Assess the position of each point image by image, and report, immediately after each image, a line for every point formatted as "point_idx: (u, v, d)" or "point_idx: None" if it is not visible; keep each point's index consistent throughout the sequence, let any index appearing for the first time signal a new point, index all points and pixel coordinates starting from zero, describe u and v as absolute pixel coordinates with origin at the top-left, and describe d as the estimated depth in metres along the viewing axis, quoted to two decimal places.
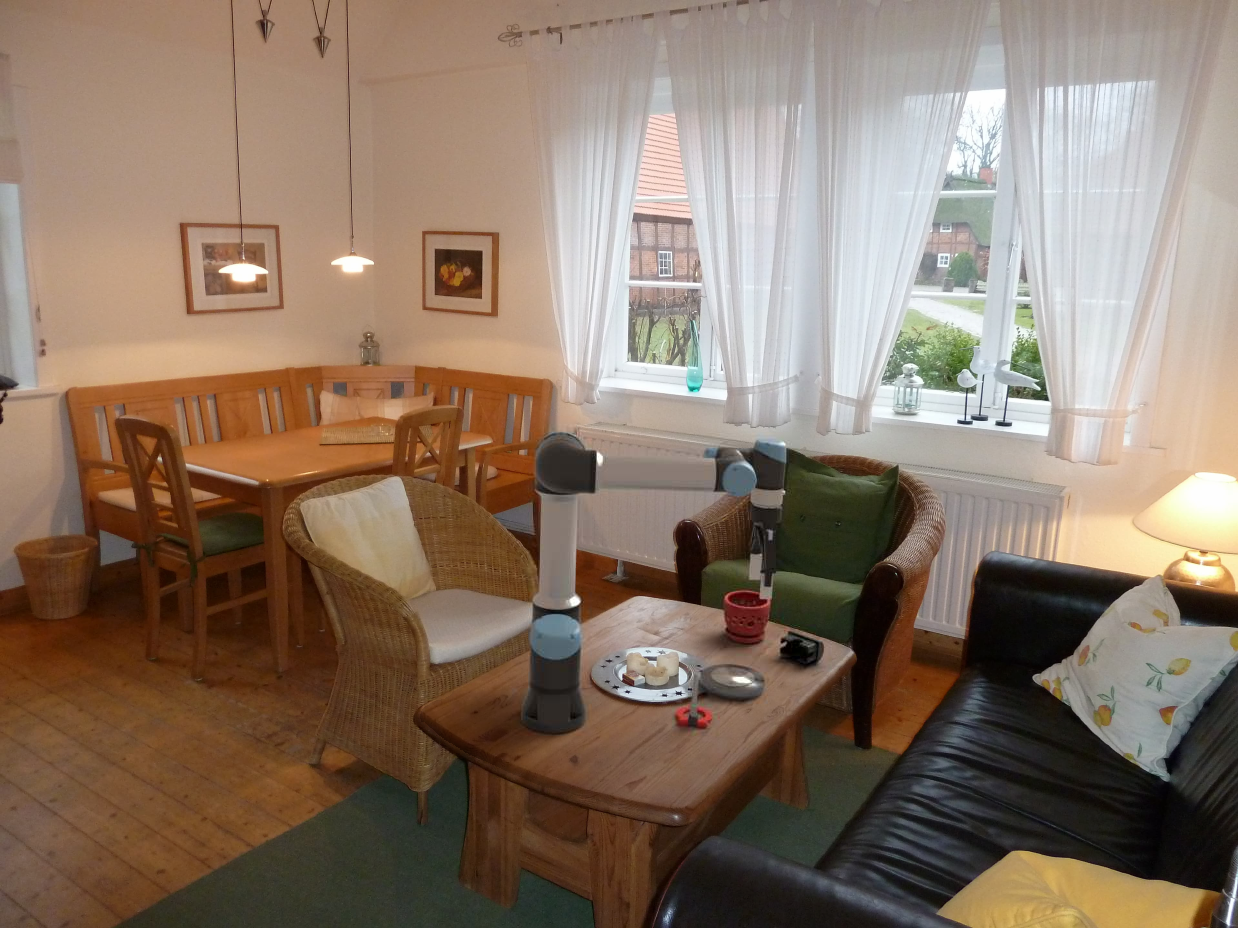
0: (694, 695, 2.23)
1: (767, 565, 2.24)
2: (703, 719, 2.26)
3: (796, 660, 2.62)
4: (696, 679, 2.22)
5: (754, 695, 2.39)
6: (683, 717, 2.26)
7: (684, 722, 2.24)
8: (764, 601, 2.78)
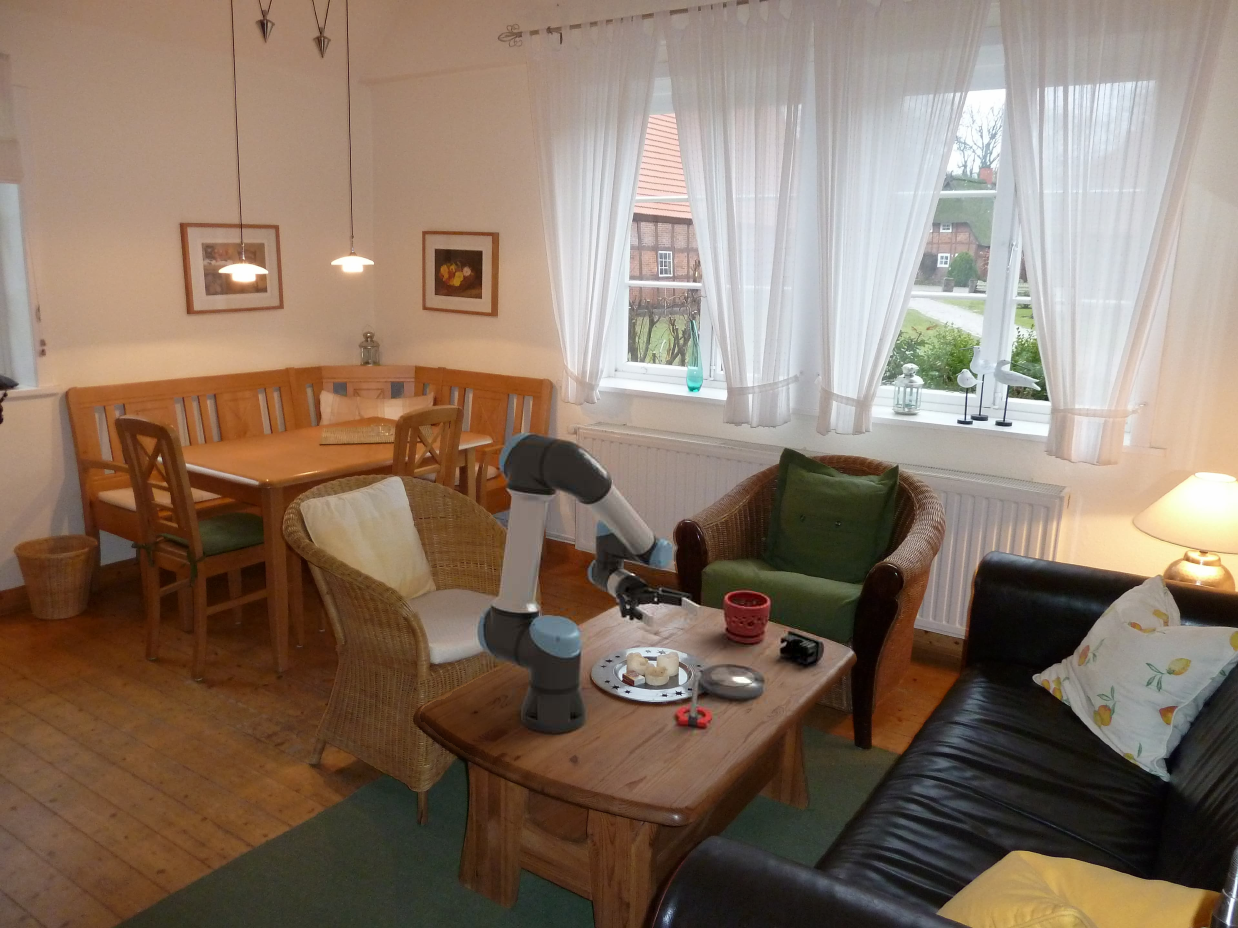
0: (694, 695, 2.23)
1: None
2: (703, 719, 2.26)
3: (796, 660, 2.62)
4: (696, 679, 2.22)
5: (754, 695, 2.39)
6: (683, 717, 2.26)
7: (684, 722, 2.24)
8: (764, 601, 2.78)
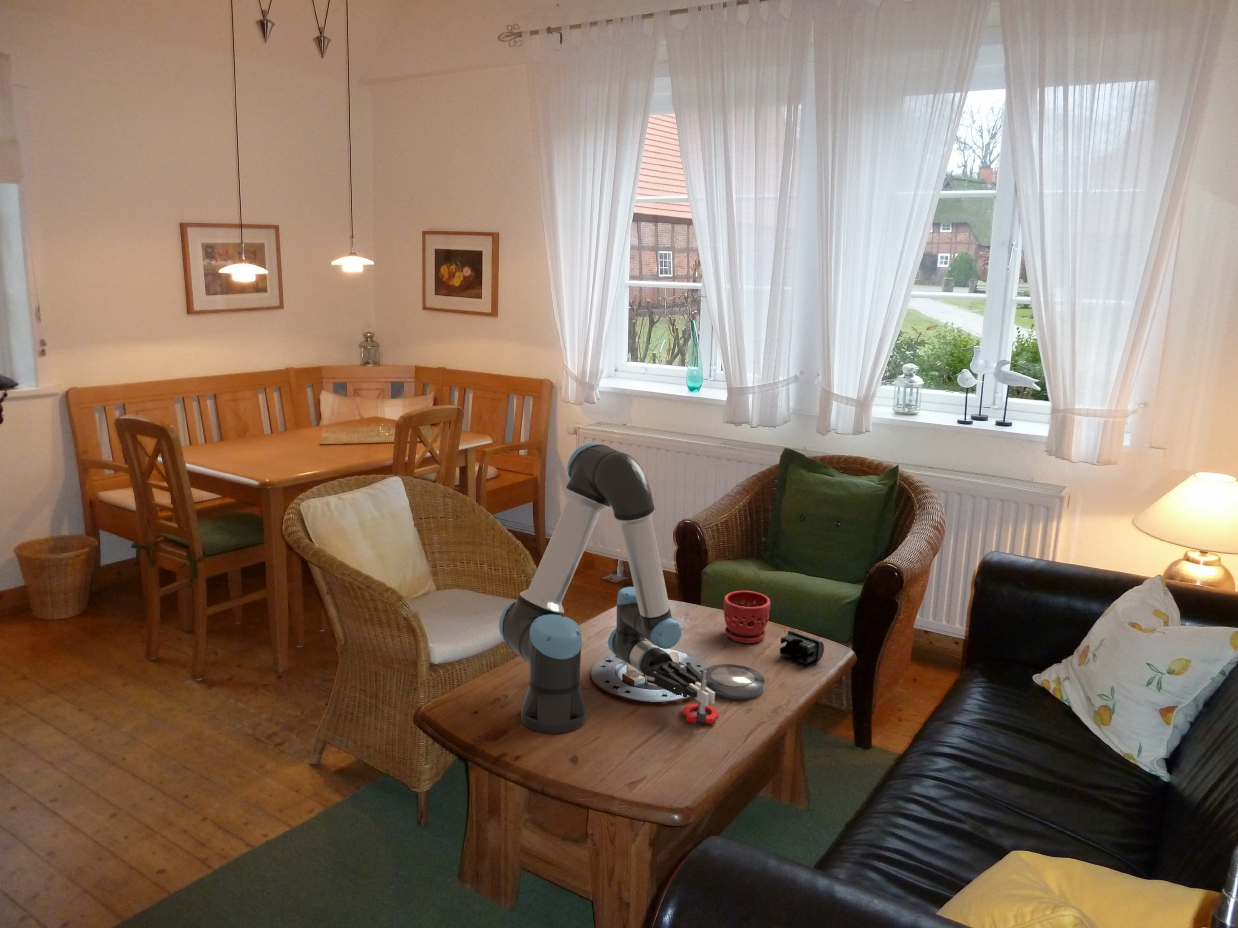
0: None
1: None
2: (710, 716, 2.27)
3: (796, 660, 2.62)
4: (704, 676, 2.23)
5: (754, 695, 2.39)
6: (690, 715, 2.27)
7: (692, 719, 2.25)
8: (764, 601, 2.78)
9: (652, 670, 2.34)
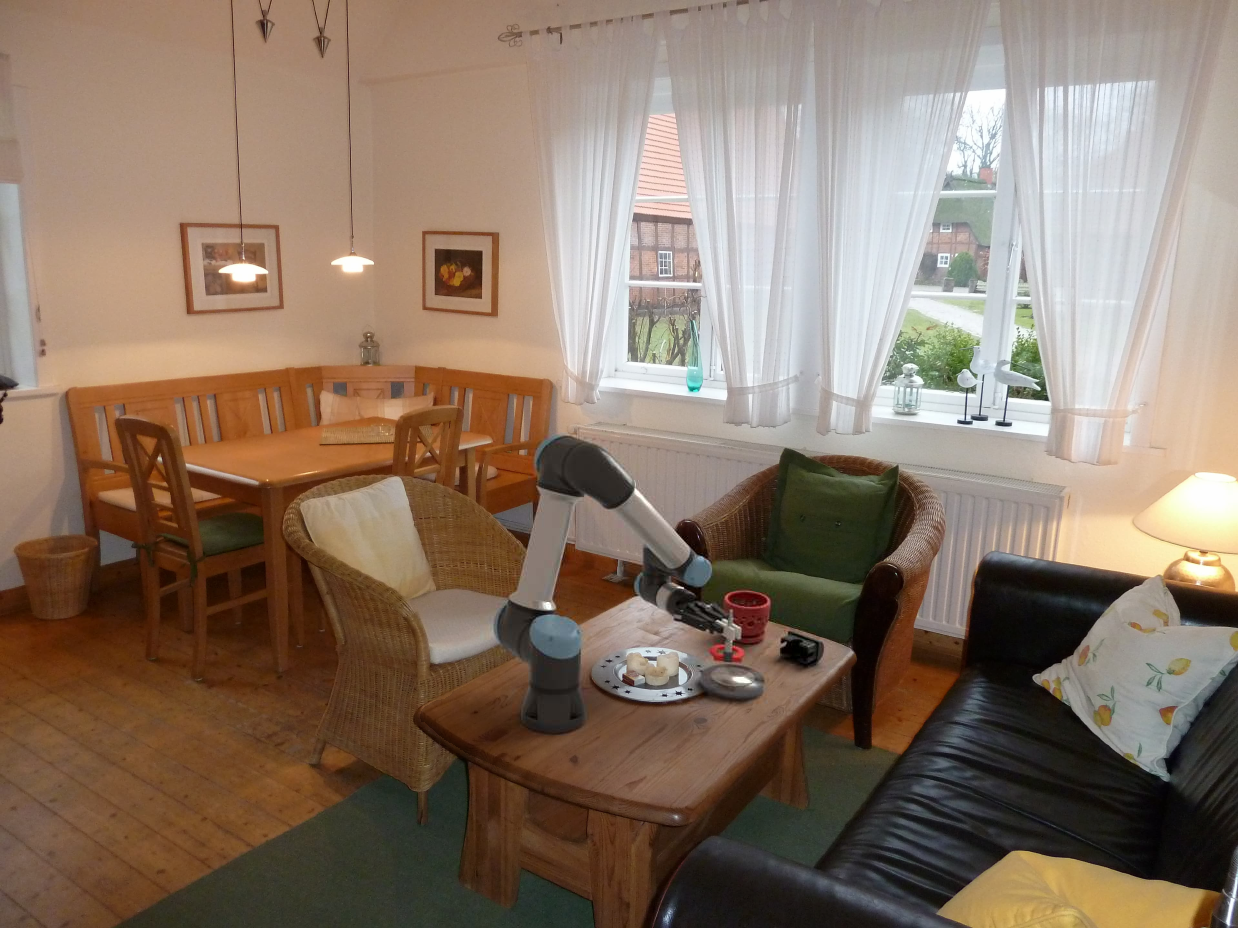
0: None
1: None
2: (737, 655, 2.31)
3: (796, 660, 2.62)
4: (731, 615, 2.27)
5: (754, 695, 2.39)
6: (717, 654, 2.31)
7: (719, 658, 2.29)
8: (764, 601, 2.78)
9: (679, 609, 2.38)
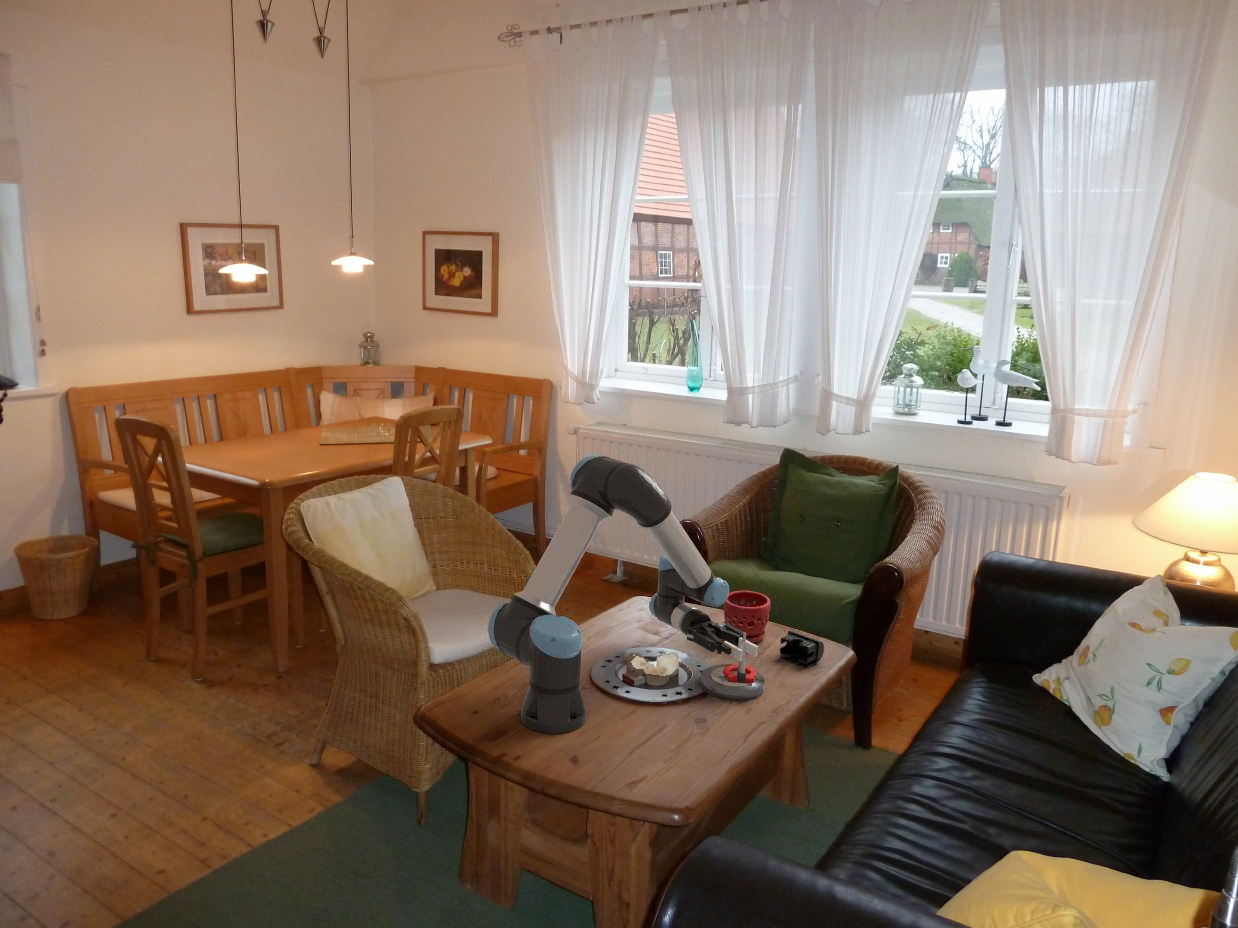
0: (743, 653, 2.40)
1: None
2: (750, 675, 2.43)
3: (796, 660, 2.62)
4: (744, 638, 2.40)
5: (754, 695, 2.39)
6: (731, 674, 2.43)
7: (733, 678, 2.41)
8: (764, 601, 2.78)
9: (693, 629, 2.50)
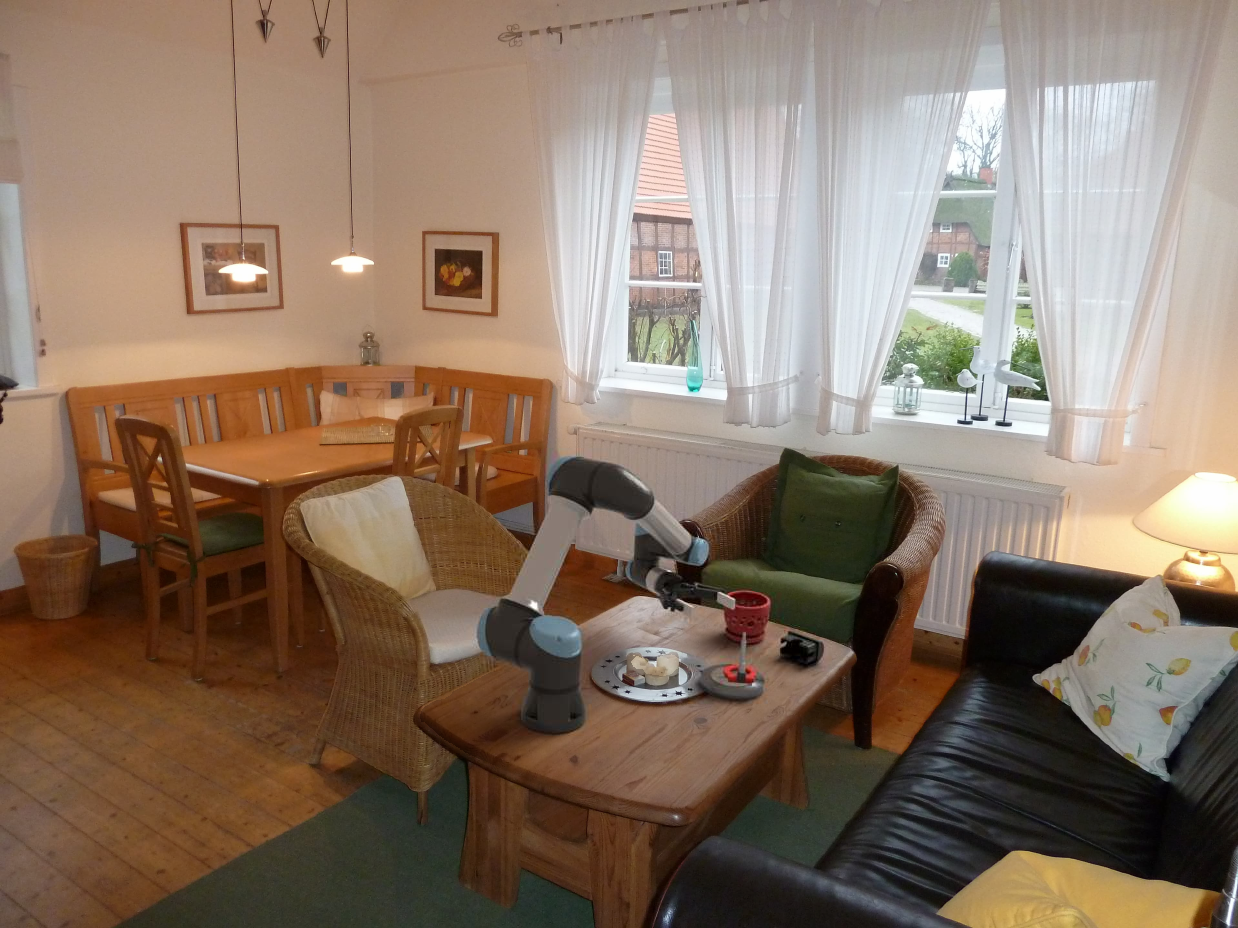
0: (743, 653, 2.40)
1: None
2: (750, 675, 2.43)
3: (796, 660, 2.62)
4: (744, 638, 2.40)
5: (754, 695, 2.39)
6: (731, 674, 2.43)
7: (733, 678, 2.41)
8: (764, 601, 2.78)
9: (666, 589, 2.60)
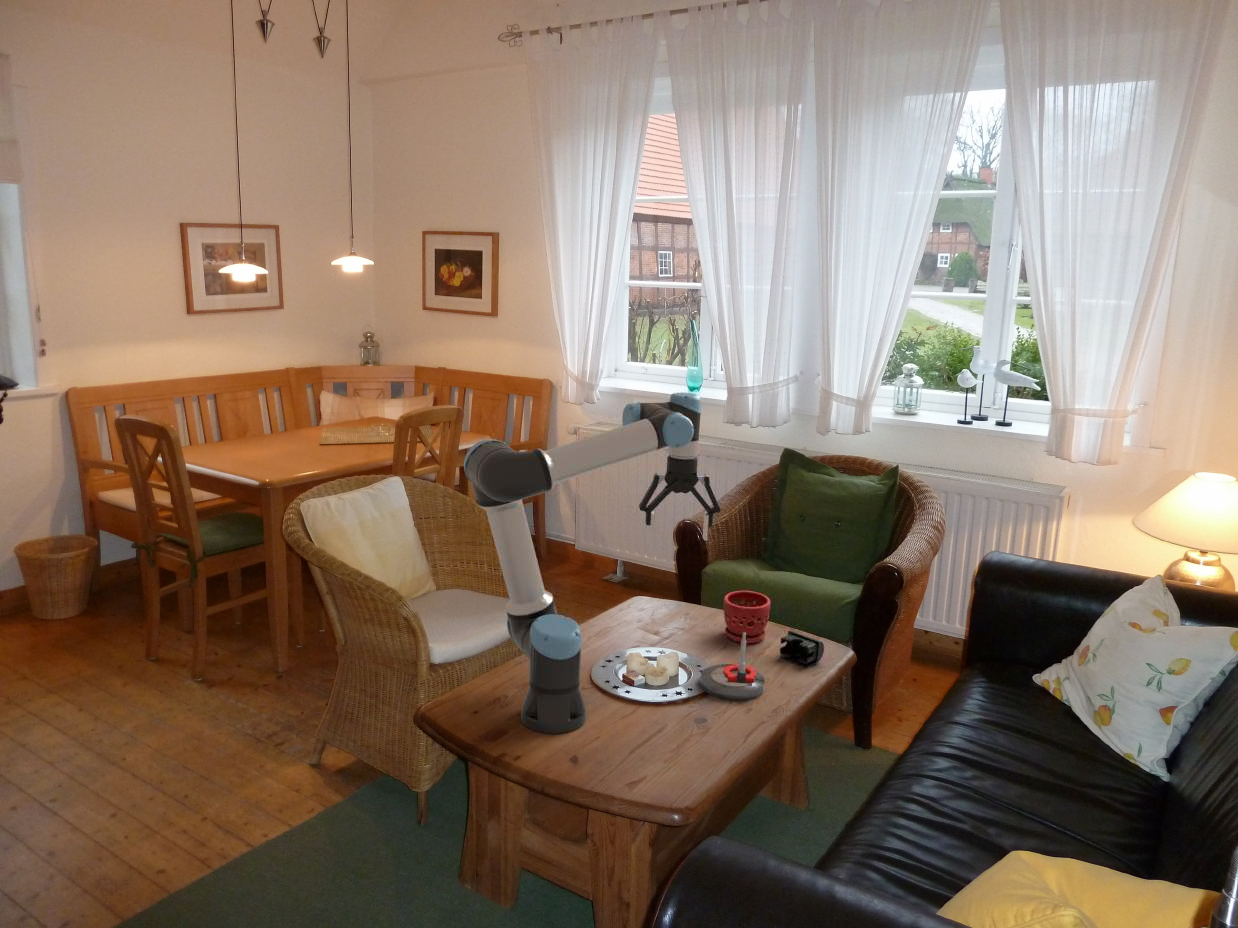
0: (743, 653, 2.40)
1: (718, 505, 2.41)
2: (750, 675, 2.43)
3: (796, 660, 2.62)
4: (744, 638, 2.40)
5: (754, 695, 2.39)
6: (731, 674, 2.43)
7: (733, 678, 2.41)
8: (764, 601, 2.78)
9: (665, 480, 2.39)
